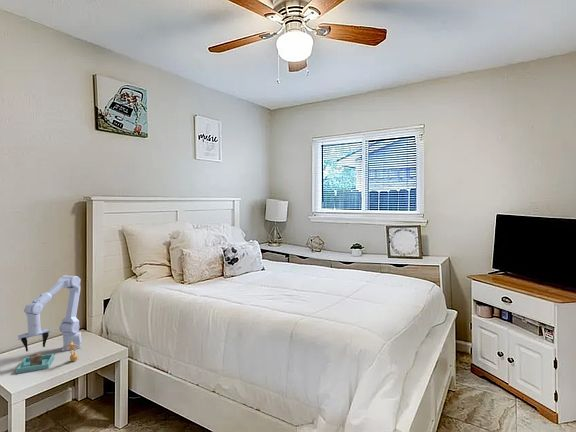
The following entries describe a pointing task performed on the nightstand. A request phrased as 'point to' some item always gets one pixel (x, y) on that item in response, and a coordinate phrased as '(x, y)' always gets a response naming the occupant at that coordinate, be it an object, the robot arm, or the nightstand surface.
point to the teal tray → (27, 367)
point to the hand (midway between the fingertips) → (35, 348)
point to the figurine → (73, 356)
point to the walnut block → (36, 359)
